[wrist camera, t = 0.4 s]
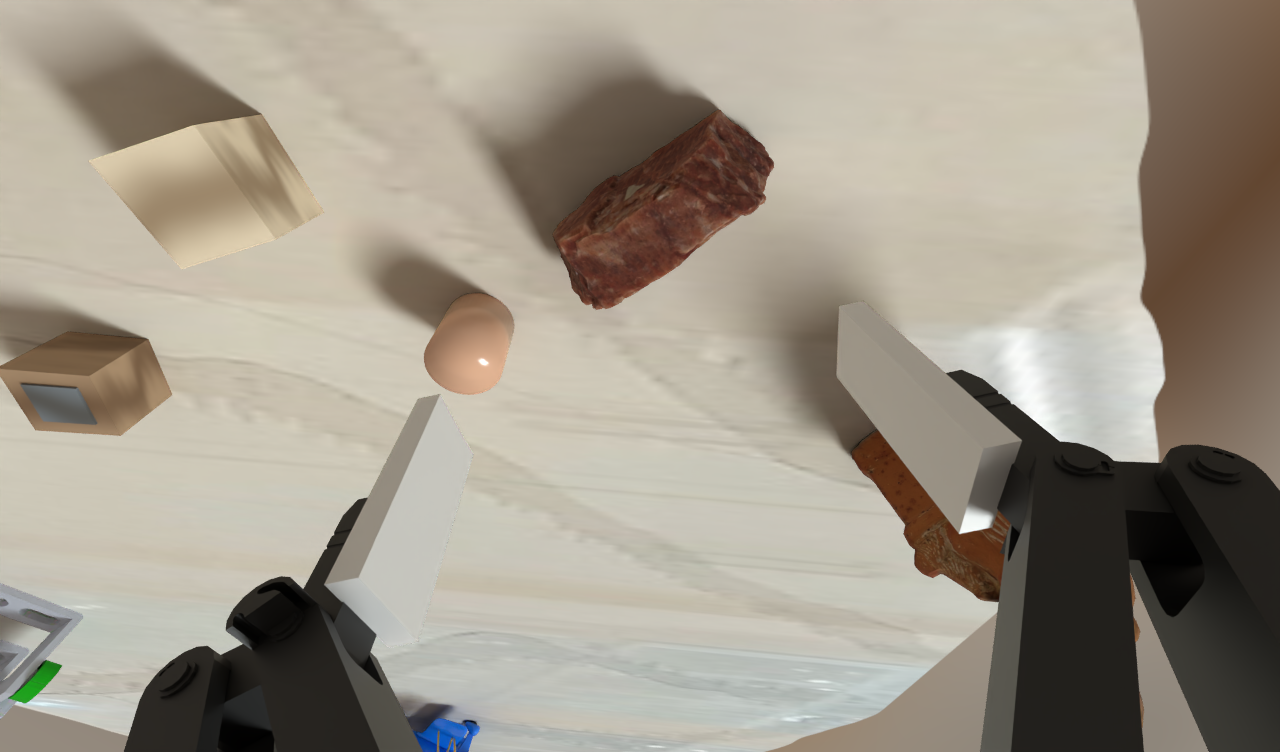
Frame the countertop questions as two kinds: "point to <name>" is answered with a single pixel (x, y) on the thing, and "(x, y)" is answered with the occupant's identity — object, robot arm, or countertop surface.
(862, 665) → the countertop surface
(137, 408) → the walnut block
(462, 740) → the airplane toy
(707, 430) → the countertop surface
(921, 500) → the sculpture
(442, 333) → the peach rounded cylinder
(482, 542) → the countertop surface
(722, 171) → the rock
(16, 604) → the bracket
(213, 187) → the maple block
